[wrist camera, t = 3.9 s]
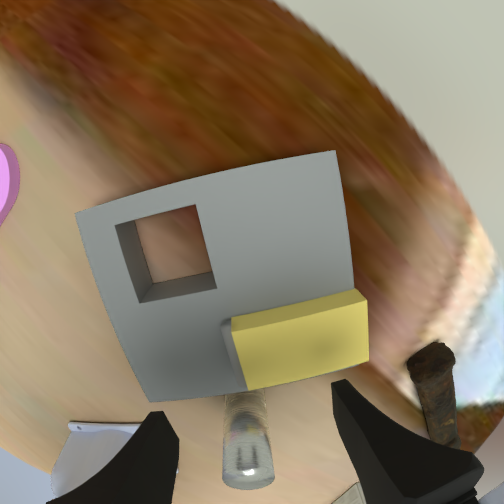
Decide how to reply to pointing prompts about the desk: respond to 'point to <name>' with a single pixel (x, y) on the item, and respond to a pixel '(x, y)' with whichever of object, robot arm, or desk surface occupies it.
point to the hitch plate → (219, 266)
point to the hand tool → (437, 392)
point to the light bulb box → (352, 496)
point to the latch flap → (298, 340)
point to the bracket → (8, 180)
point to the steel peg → (246, 441)
